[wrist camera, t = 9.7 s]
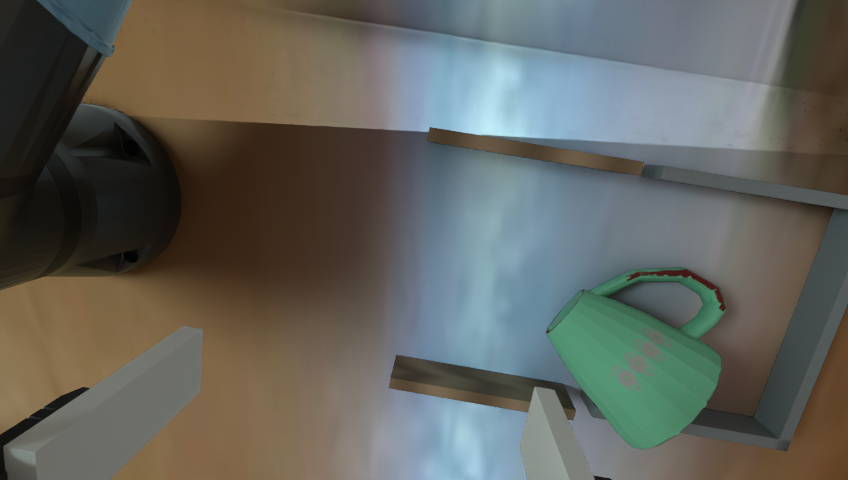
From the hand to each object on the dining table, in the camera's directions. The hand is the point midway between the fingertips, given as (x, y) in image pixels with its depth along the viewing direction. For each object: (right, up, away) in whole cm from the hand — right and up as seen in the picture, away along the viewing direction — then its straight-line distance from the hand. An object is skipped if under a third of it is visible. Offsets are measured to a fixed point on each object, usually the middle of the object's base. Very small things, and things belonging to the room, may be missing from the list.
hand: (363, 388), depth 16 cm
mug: (+16, +2, +19) cm, 24 cm away
